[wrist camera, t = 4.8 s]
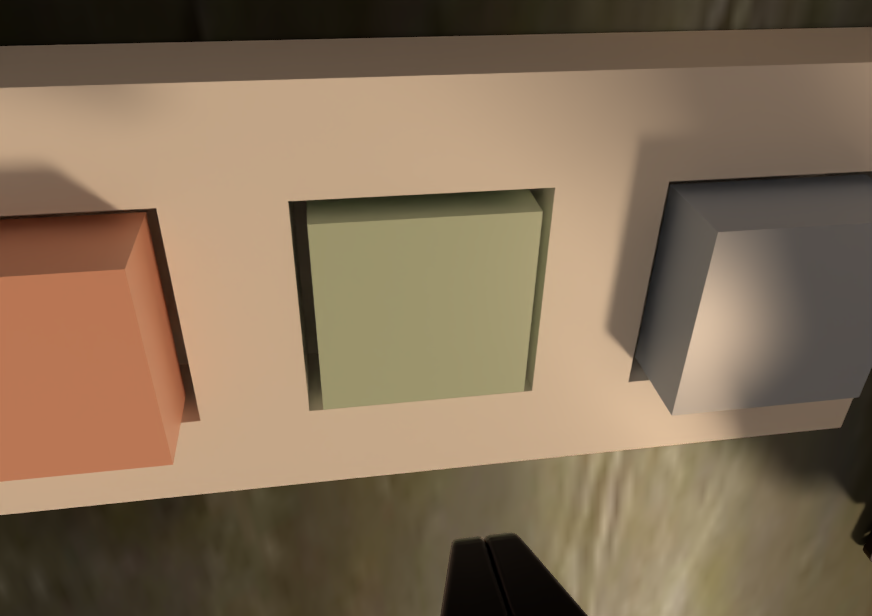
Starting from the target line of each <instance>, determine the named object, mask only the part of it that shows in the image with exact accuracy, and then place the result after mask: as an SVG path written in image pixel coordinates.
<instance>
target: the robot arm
mask: <svg viewBox="0 0 872 616" xmlns="http://www.w3.org/2000/svg"><path fill="white" fill-rule="evenodd" d="M863 551H864V553H865V554H866V555H867V557H868V558H869V559H870V561H871V562H872V531H871V533H870V535H869V537H868V539H867V541H866V543H865V545H864V548H863ZM441 616H587V614H586V613H585V612H584V611H583V610H582V609H581V608H580V606H579V605H578V604H577V603H576V602H575V601H574V599H573V598H572V597H571V596H570V595H569V594H568V592H567V591H566V590H565V589H564V588H563V587H562V586H561V584H560V583H559V582H558V581H557V580H556V579H555V577H554V576H553V575H552V574H551V573H550V572H549V570H548V569H547V568H546V567H545V566H544V565H543V563H542V562H541V561H540V560H539V559H538V558H537V557H536V555H535V554H534V553H533V552H532V551H531V550H530V548H529V547H528V546H527V545H526V544H525V543H524V541H523V540H522V539H521V538H520V537H519V536H518V535H517V534H515V533H502V534H494V535H488V536H486V537H485V539H483V538H481V537H478V536H477V537H469V538H460V539H455V540H454V541H453V542H452V545H451V551H450V557H449V564H448V570H447V577H446V583H445V590H444V596H443V603H442V609H441Z"/></svg>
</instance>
